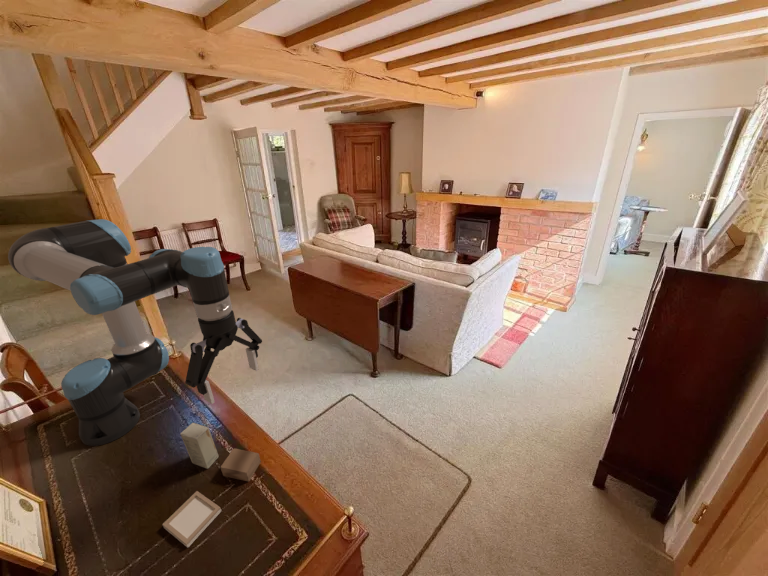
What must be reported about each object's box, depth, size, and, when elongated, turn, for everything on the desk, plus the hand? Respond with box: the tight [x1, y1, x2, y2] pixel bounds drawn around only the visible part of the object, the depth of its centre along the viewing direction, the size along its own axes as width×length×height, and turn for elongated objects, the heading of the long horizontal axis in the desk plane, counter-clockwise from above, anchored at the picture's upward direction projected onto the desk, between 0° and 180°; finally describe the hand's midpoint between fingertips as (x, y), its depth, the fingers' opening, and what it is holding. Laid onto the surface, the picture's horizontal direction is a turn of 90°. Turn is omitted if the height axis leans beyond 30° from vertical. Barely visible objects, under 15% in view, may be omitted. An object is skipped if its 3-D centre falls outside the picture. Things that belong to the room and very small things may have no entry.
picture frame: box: [162, 490, 222, 548], centre depth 78 cm, size 9×9×2 cm
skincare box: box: [179, 422, 219, 470], centre depth 90 cm, size 6×4×12 cm
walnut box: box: [220, 447, 261, 482], centre depth 90 cm, size 8×6×4 cm
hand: (233, 383), depth 82 cm, fingers open, 13 cm apart
